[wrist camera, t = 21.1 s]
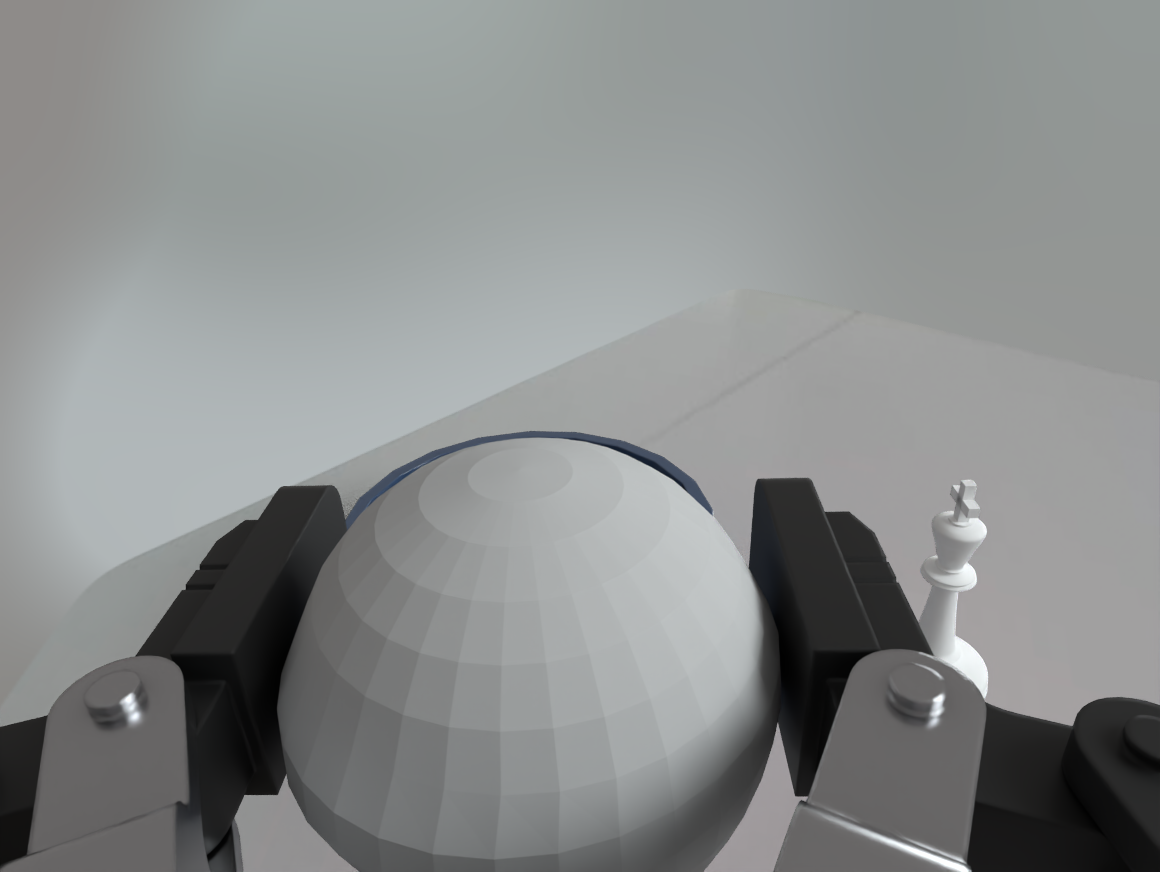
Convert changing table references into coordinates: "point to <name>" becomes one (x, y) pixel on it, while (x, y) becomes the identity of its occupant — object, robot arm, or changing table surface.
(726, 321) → the changing table surface
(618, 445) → the bowl
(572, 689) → the lollipop
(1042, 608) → the changing table surface
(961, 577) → the chess piece
